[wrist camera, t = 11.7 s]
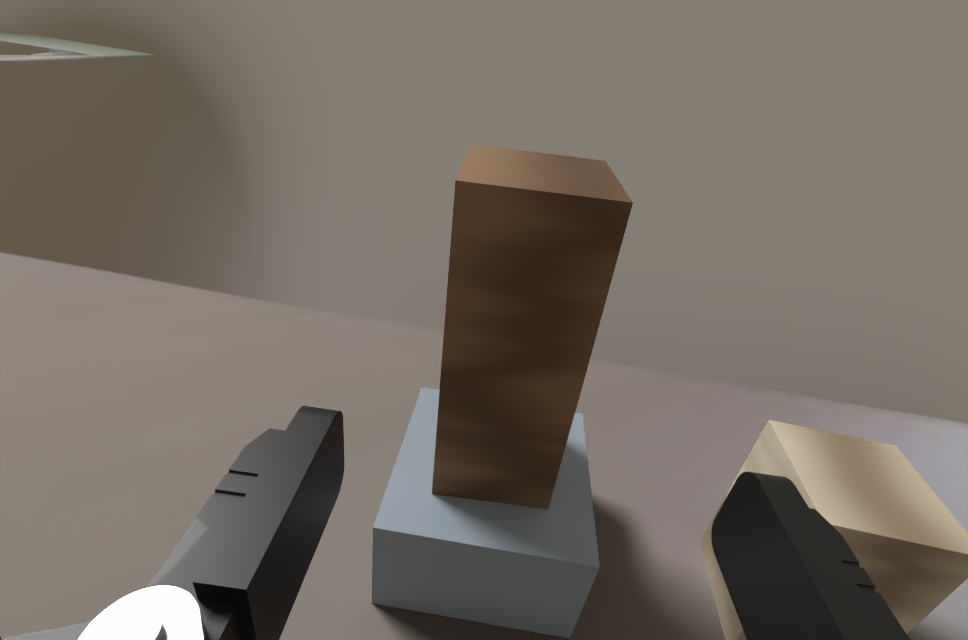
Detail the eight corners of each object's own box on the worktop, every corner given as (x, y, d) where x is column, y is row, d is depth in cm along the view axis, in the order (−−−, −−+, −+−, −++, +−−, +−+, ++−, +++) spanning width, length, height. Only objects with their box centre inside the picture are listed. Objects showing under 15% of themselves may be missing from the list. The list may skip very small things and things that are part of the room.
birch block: (727, 650, 19) (823, 523, 15) (699, 541, 24) (768, 420, 20) (856, 680, 19) (988, 558, 15) (803, 565, 23) (895, 445, 19)
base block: (371, 606, 19) (373, 527, 17) (416, 458, 26) (421, 387, 24) (568, 641, 19) (599, 566, 17) (561, 483, 26) (582, 413, 24)
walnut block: (431, 494, 18) (455, 180, 12) (446, 413, 22) (471, 144, 16) (548, 508, 18) (632, 202, 12) (543, 425, 22) (605, 161, 16)
